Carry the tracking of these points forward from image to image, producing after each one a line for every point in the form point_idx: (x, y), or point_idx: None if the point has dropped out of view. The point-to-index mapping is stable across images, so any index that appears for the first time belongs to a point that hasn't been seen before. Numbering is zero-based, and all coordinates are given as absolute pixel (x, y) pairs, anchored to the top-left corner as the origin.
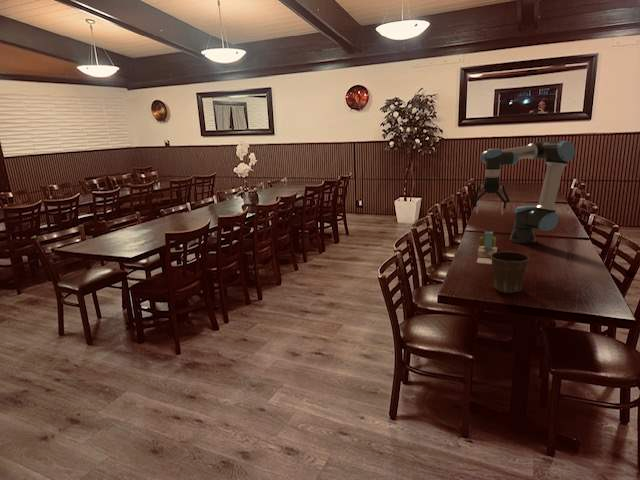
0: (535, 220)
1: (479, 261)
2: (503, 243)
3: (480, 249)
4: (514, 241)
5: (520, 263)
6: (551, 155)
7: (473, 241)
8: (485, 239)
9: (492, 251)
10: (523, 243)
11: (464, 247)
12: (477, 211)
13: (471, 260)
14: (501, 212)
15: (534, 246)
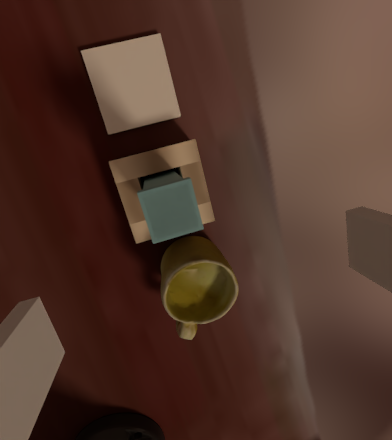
0: None
1: (153, 53)
2: (167, 380)
3: (190, 163)
4: (136, 417)
5: None
6: None
7: (272, 341)
8: (178, 179)
9: (128, 160)
10: (100, 418)
11: (279, 247)
12: (363, 223)
13: (195, 70)
14: (22, 315)
15: (51, 410)
